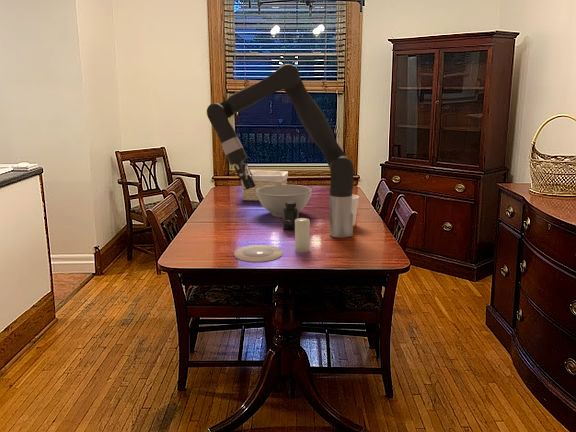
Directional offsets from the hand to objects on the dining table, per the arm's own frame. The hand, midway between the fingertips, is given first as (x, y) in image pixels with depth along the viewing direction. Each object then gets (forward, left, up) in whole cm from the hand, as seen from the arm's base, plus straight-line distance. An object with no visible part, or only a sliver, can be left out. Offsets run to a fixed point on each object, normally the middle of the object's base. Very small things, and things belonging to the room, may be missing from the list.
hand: (251, 188), depth 221 cm
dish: (-2, +18, -22) cm, 29 cm away
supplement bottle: (-17, -16, -22) cm, 32 cm away
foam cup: (-43, -20, -22) cm, 52 cm away
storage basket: (-8, -79, -22) cm, 82 cm away
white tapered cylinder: (-19, +15, -22) cm, 33 cm away
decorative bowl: (-16, -43, -22) cm, 51 cm away
